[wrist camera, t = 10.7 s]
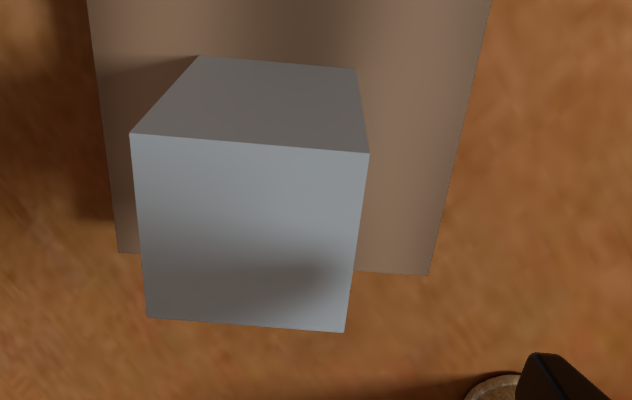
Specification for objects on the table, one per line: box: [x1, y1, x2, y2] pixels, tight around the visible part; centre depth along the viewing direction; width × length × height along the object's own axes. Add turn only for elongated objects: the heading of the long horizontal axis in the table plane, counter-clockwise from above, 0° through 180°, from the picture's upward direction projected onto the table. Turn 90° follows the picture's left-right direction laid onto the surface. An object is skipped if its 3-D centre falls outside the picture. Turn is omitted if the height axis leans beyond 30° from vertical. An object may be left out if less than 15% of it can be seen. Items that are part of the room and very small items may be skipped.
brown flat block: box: [86, 0, 492, 276], centre depth 17 cm, size 11×10×3 cm
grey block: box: [129, 55, 370, 333], centre depth 13 cm, size 4×4×6 cm
